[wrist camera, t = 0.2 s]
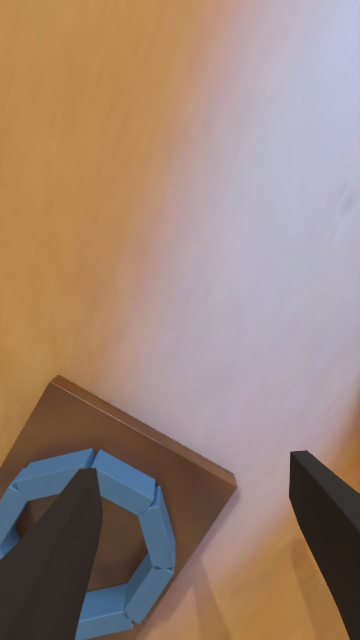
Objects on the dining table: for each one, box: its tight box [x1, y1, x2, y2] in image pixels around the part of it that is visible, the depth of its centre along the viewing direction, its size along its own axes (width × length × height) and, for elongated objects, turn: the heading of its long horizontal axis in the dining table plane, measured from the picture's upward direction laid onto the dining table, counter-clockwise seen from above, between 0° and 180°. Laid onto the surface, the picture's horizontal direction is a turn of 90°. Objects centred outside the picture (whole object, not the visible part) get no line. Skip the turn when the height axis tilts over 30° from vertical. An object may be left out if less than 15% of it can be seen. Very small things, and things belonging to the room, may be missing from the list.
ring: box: [0, 448, 175, 640], centre depth 21 cm, size 11×11×2 cm
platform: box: [0, 375, 237, 640], centre depth 21 cm, size 16×14×4 cm
